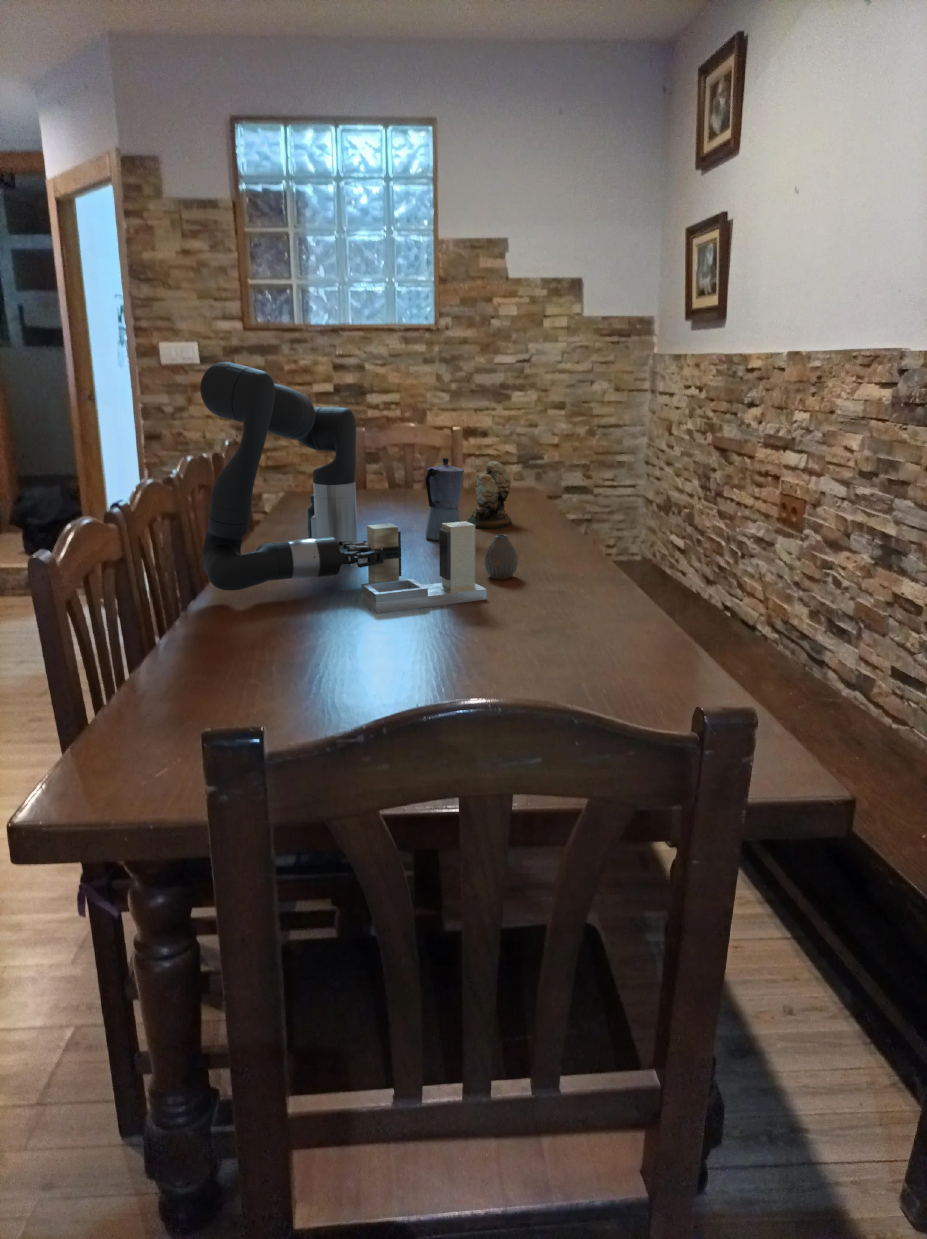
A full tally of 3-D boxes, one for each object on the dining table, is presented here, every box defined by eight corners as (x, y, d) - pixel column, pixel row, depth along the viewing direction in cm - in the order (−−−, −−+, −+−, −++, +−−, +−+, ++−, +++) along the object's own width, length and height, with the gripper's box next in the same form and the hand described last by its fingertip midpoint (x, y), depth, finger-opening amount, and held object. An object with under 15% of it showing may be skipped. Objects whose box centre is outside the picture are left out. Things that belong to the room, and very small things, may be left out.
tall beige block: (375, 589, 170) (373, 528, 166) (368, 584, 173) (366, 525, 170) (401, 586, 172) (400, 526, 169) (394, 581, 176) (393, 523, 172)
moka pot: (473, 535, 221) (473, 456, 216) (446, 546, 208) (446, 462, 202) (439, 531, 225) (439, 454, 219) (411, 543, 212) (410, 460, 206)
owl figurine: (474, 517, 247) (475, 456, 242) (514, 519, 245) (516, 458, 240) (462, 528, 230) (463, 463, 225) (506, 530, 228) (508, 465, 223)
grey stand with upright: (376, 613, 154) (374, 536, 150) (361, 602, 161) (359, 528, 157) (486, 599, 163) (487, 526, 159) (468, 589, 170) (468, 518, 166)
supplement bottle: (302, 544, 210) (299, 494, 207) (324, 539, 215) (322, 491, 212) (319, 548, 206) (317, 497, 202) (342, 543, 211) (340, 494, 207)
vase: (515, 582, 176) (515, 539, 173) (481, 580, 177) (481, 538, 174) (519, 574, 182) (520, 533, 179) (487, 572, 183) (487, 531, 181)
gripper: (322, 545, 158) (409, 537, 165) (301, 531, 170) (383, 524, 177) (323, 585, 160) (410, 575, 167) (303, 568, 172) (384, 560, 179)
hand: (395, 549), depth 172 cm, fingers closed on tall beige block, 4 cm apart
